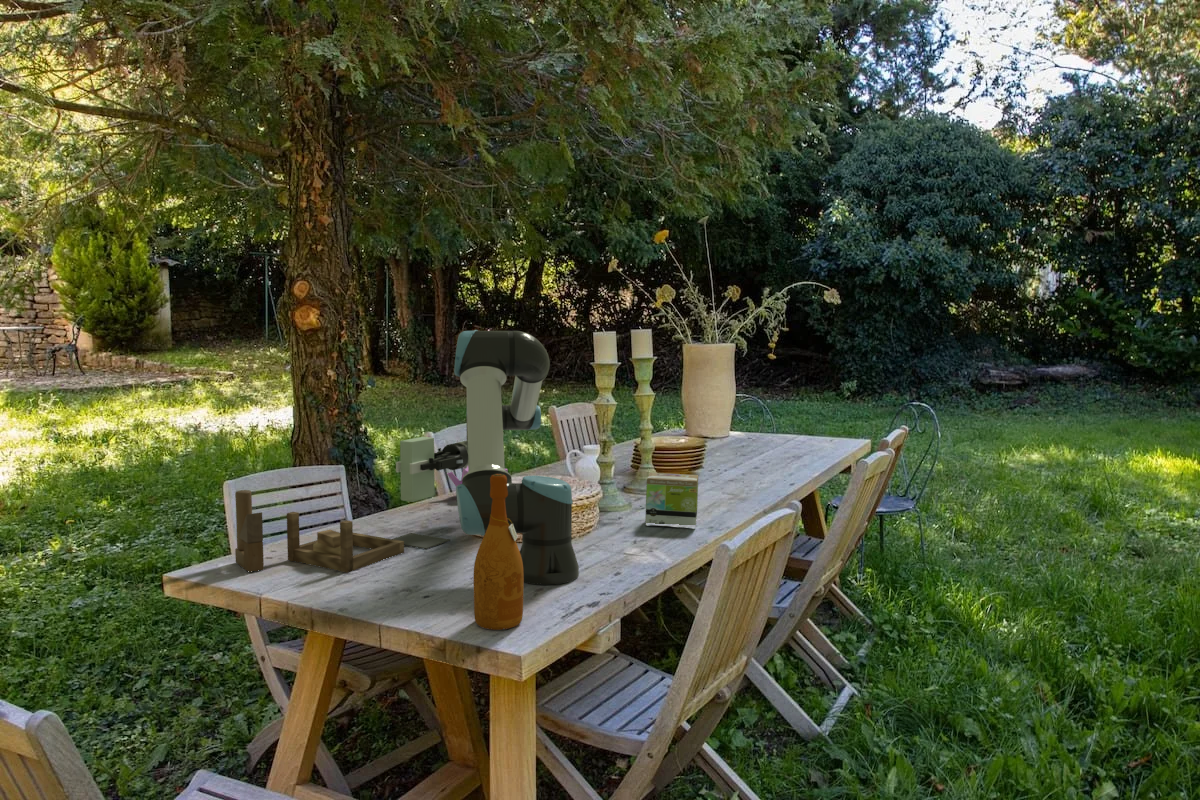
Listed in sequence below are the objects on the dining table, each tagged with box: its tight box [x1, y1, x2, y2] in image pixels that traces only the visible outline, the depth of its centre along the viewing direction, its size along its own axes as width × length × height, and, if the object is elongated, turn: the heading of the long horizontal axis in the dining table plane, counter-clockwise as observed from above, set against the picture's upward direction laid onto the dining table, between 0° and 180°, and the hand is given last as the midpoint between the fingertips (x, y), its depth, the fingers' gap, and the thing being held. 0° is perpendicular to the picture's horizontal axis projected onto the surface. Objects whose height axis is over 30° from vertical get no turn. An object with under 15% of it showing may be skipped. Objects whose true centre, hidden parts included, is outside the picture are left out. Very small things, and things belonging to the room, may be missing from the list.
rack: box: [286, 511, 405, 574], centre depth 207 cm, size 20×20×12 cm
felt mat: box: [392, 532, 451, 550], centre depth 222 cm, size 14×10×1 cm
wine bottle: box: [473, 474, 525, 631], centre depth 161 cm, size 10×10×30 cm
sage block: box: [399, 436, 436, 503], centre depth 221 cm, size 4×9×16 cm, turn 152°
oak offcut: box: [313, 542, 341, 556], centre depth 202 cm, size 8×4×3 cm, turn 73°
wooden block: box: [234, 489, 265, 573], centre depth 197 cm, size 4×11×18 cm, turn 39°
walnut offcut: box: [316, 529, 340, 548], centre depth 201 cm, size 7×4×3 cm, turn 50°
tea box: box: [645, 472, 699, 525], centre depth 243 cm, size 15×10×15 cm, turn 81°
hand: (404, 468), depth 216 cm, fingers closed on sage block, 4 cm apart
